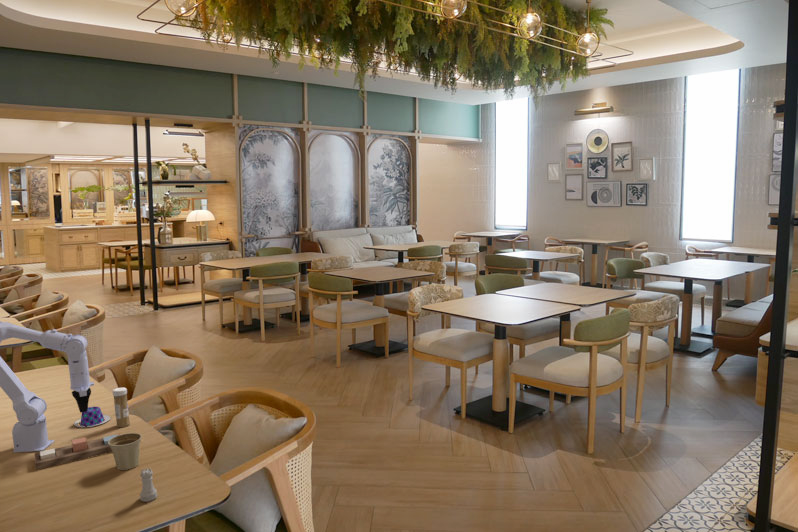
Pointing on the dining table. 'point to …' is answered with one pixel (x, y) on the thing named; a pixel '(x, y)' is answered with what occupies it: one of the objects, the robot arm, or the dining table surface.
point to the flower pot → (126, 450)
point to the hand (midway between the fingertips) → (83, 411)
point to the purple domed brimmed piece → (92, 417)
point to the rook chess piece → (147, 486)
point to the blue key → (107, 439)
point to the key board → (72, 454)
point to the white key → (47, 454)
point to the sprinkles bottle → (121, 407)
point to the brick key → (79, 444)
